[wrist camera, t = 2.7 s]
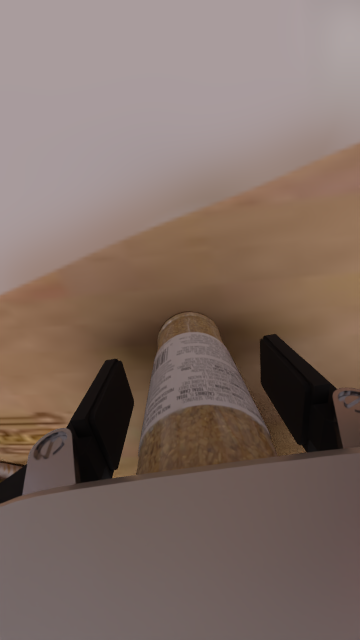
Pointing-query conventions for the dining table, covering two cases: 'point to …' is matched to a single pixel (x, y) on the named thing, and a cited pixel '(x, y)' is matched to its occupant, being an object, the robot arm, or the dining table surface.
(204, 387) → the sprinkles bottle
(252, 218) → the dining table surface
